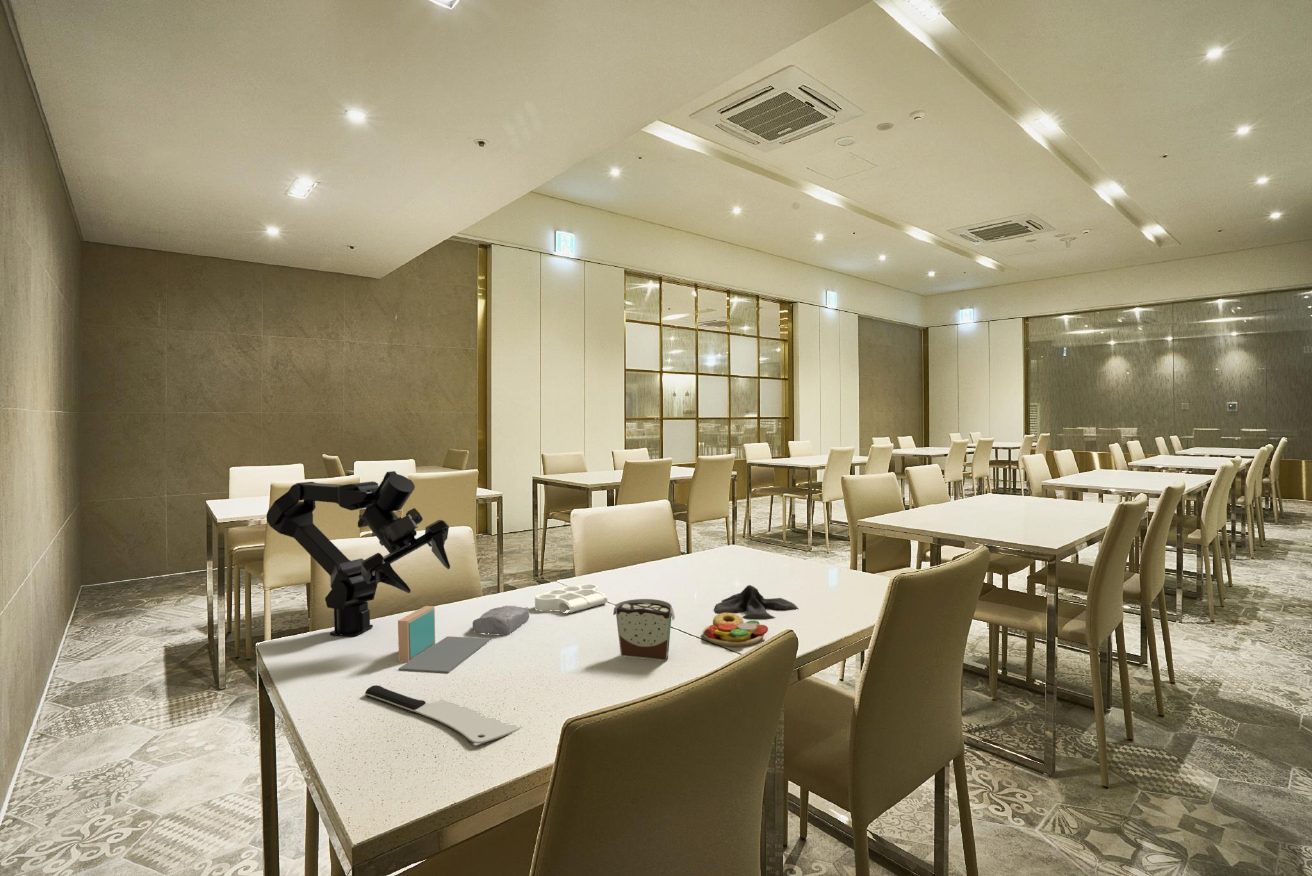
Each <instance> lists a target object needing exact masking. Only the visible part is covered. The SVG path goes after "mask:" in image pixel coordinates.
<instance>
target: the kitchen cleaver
mask: <svg viewBox="0 0 1312 876" xmlns="http://www.w3.org/2000/svg"><path fill="white" fill-rule="evenodd" d="M364 696H365V697H367V698H369V699H372V700H376V701H378V702H381V703H384V704H386V705H390V706H391V707H394V708H397V709H400V710H403V711H406V712H408V713H412V714H417V713H418V714H420V715H423V716H424V717H427V718H430V719H432V720H435V721H438V722H440V723H442V724H444V725H445V726H448V727H450V728H451V729H453V730H455V731H457V732H458V733H460V734H461V735H462V736H464V737H465V738H466V739H468V740H469V741H470V742H471V743H474V744H485V743H488V742H491V741H494V740H496V739H500V738H503V737H505V736H507V735H510V734H512V733H515V732H517V731H519V730H521V729H523V728H524V726H522V727H517V726H516V725H517V724H516V725H509V723H501V721H500V720H496V718H497V717H495V718H488V717H489V716H490V715H489V716H488V717H487V718H485V717H486V716H480V715H481V714H482V715H484V714H485V713H484V714H483V713H482V712H481V711H477V710H475V711H474V709H471V708H468V707H465V706H463V707H460V706H461V705H460V704H457V703H453V702H452V701H447V700H444V699H440V700H437V701H433V702H426V701H425V700H423V699H416V698H413V697H410V696H407V695H404V694H401V693H397V692H395V691H393V690H390V689H387V688H385V687H383V686H381V685H371V686H370V687H368V688H367V689H366V690H365V692H364ZM477 712H479V713H477ZM480 712H481V713H480ZM506 724H508V725H506ZM520 728H521V729H520Z"/></svg>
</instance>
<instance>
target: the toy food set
mask: <svg viewBox="0 0 1312 876" xmlns="http://www.w3.org/2000/svg"><path fill="white" fill-rule="evenodd" d="M768 632H769V628H768V626H767V625H765V624H761V623H760V622H759V620H756V619H752V620H749V621H746V622H744V618H742V616H740V615H738V614H737V613H721V614H716V615H714V617H713V620H712V624H710V625H708V626H706V627H704V628H703V630H702V635H703V637H704V638H706V640H707V641H709V642H711V643H713V644H716V645H719V646H724V647H725V646H726V647H744V646H751V645H755V644H756V643H758V642H760V641H761V640H762V639H763V638H764V636H765V634H767V633H768Z"/></svg>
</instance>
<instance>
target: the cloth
mask: <svg viewBox="0 0 1312 876" xmlns="http://www.w3.org/2000/svg"><path fill="white" fill-rule="evenodd" d="M796 609H798V610H799V607H798V606H797V605H796V604H795V603H793V602H791V601H789V600H788V599H784V598H782V597H776V598H775V597H774V598H764V595H762V594H761V593H760V592H759V590H758V588H756V587H755V586H753V585H751V584H749V585H747V586H746V587H745V588H744V589H743V590H741V592H740V593H735V594H733V595H731V596H729V597H727V598H725V599H722V600H721V601H720V602H718V603H717V604H715V606H714V612H715V614H716V615H718V614H721V613H733V614H738V613H741V612H747V613H746V614H745V615H743V616H741V618H742V619H743V620H773V619H776V617H775V616H773V615H772V614H770V613H768V612H767V610H772V611H779V610H783V611H797V610H796Z"/></svg>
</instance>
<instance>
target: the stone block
mask: <svg viewBox="0 0 1312 876" xmlns="http://www.w3.org/2000/svg"><path fill="white" fill-rule="evenodd" d="M529 618H530V610H529V608H528V606H527V607H522V606H517V605H503V606H500V607H499V606H498V607H495V608H491V609H489V610H488V611H486V612H484V613H482V615H481V616H480V617H479V618H476V619H474V620H473V621H472V629H473V632H474V633H475V634H476V633H485V634H488V633H489V634H499V635H498V636H503V635H504V636H509V635H511V634H513V633H514V632H515V631H516V630H517V628H518V629H519V628H520V627H522V626H523V625H525V624H526V623H527V621H529ZM522 624H523V625H522ZM521 625H522V626H521ZM512 632H513V633H512ZM510 633H511V634H510Z"/></svg>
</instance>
